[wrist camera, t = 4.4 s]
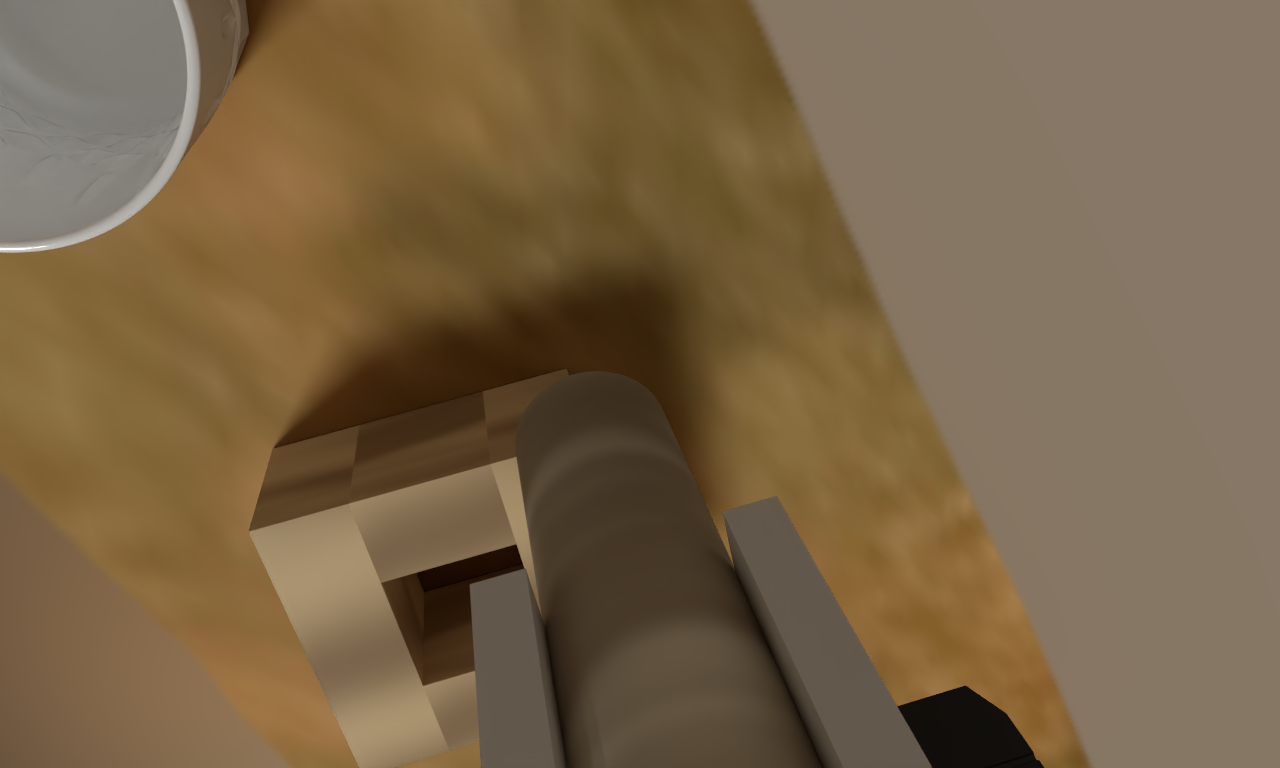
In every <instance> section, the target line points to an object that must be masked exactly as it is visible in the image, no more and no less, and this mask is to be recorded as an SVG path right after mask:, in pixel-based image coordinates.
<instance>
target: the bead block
mask: <svg viewBox="0 0 1280 768" xmlns="http://www.w3.org/2000/svg"><path fill="white" fill-rule="evenodd" d="M567 376H569V374H568V371H567V368H566V369H562V370H559V371H555V372H551V373H548V374H544V375H540V376H537V377H533V378H530V379H526V380H522V381H519V382H515V383H511V384H508V385H504V386H500V387H497V388H493V389H489V390H486V391H482V392H478V393H475V394H471V395H467V396H464V397H460V398H457V399H453V400H449V401H446V402H442V403H438V404H435V405H431V406H427V407H424V408H420V409H416V410H413V411H409V412H405V413H402V414H398V415H395V416H391V417H387V418H384V419H380V420H376V421H373V422H369V423H365V424H362V425H358V426H354V427H351V428H347V429H343V430H340V431H336V432H332V433H329V434H325V435H322V436H318V437H314V438H311V439H307V440H303V441H300V442H296V443H292V444H289V445H285V446H281V447H278V448H274V449H273V450H272V453H271V457H270V460H269V463H268V467H267V470H266V474H265V477H264V481H263V484H262V487H261V491H260V494H259V498H258V501H257V505H256V508H255V511H254V515H253V518H252V522H251V525H250V529H249V534H250V536H251V538H252V540H253V542H254V544H255V546H256V549H257V551H258V553H259V555H260V557H261V559H262V561H263V563H264V566H265V568H266V570H267V572H268V574H269V576H270V578H271V580H272V583H273V585H274V587H275V589H276V591H277V593H278V595H279V597H280V600H281V602H282V604H283V606H284V608H285V610H286V612H287V614H288V617H289V619H290V621H291V623H292V625H293V627H294V629H295V631H296V634H297V636H298V638H299V640H300V642H301V644H302V646H303V649H304V651H305V653H306V655H307V657H308V659H309V661H310V663H311V666H312V668H313V670H314V672H315V674H316V676H317V678H318V680H319V683H320V685H321V687H322V689H323V691H324V693H325V695H326V697H327V700H328V702H329V704H330V706H331V708H332V710H333V712H334V714H335V717H336V719H337V721H338V723H339V725H340V727H341V729H342V731H343V734H344V736H345V738H346V740H347V742H348V744H349V746H350V749H351V751H352V753H353V755H354V757H355V759H356V761H357V763H358V766H359V768H393V767H397V766H400V765H403V764H407V763H410V762H413V761H417V760H420V759H423V758H427V757H430V756H434V755H437V754H440V753H444V752H447V751H450V750H454V749H457V748H460V747H464V746H467V745H470V744H474V743H477V742H479V726H478V710H477V694H476V678H475V662H474V646H473V630H472V615H471V599H470V584H473V583H476V582H480V581H483V580H487V579H490V578H494V577H497V576H501V575H504V574H508V573H511V572H514V571H518V570H521V569H525V568H526V571H527V574H528V577H529V580H530V583H531V586H532V589H533V592H534V595H535V598H536V601H537V604H538V607H539V610H540V604H539V597H538V591H537V585H536V578H535V572H534V566H533V559H532V553H531V547H530V540H529V534H528V528H527V521H526V515H525V509H524V502H523V496H522V490H521V483H520V477H519V471H518V464H517V458H516V450H515V438H516V432H517V427H518V424H519V422H520V419H521V417H522V415H523V413H524V411H525V409H526V408H527V407H528V405H529V404H530V402H531V401H532V400H533V399H534V398H535V397H536V396H537V395H538V394H539V393H540V392H541V391H543V390H544V389H545V388H546V387H548V386H549V385H551V384H552V383H554V382H556V381H558V380H560V379H562V378H564V377H567ZM515 544H517V547H518V550H519V553H520V556H521V559H522V562H523V564H521V565H517V566H514V567H510V568H507V569H503V570H500V571H496V572H493V573H490V574H486V575H483V576H479V577H476V578H472V579H469V580H465V581H462V582H458V583H455V584H451V585H448V586H444V587H441V588H437V589H434V590H430V591H427V592H424V591H423V588H422V586H421V583H420V581H419V578H418V575H417V572H420V571H424V570H427V569H431V568H434V567H438V566H441V565H445V564H448V563H452V562H455V561H459V560H462V559H466V558H469V557H473V556H476V555H480V554H483V553H487V552H490V551H494V550H497V549H501V548H504V547H508V546H511V545H515ZM540 613H541V610H540Z"/></svg>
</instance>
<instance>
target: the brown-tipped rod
mask: <svg viewBox="0 0 1280 768" xmlns="http://www.w3.org/2000/svg"><path fill="white" fill-rule="evenodd" d="M515 450H516V458H517V464H518V471H519V477H520V483H521V490H522V496H523V502H524V509H525V515H526V521H527V528H528V534H529V540H530V547H531V553H532V559H533V566H534V572H535V578H536V585H537V591H538V597H539V604H540V610H541V616H542V619H543V622H544V625H545V631H546V638H547V644H548V650H549V656H550V662H551V669H552V675H553V681H554V687H555V694H556V700H557V706H558V712H559V719H560V725H561V731H562V737H563V743H564V750H565V756H566V762H567V768H823V765H822V763H821V761H820V759H819V757H818V754H817V752H816V750H815V748H814V745H813V743H812V741H811V739H810V737H809V734H808V732H807V730H806V728H805V725H804V723H803V721H802V719H801V717H800V714H799V712H798V710H797V708H796V705H795V703H794V701H793V699H792V697H791V694H790V692H789V690H788V688H787V685H786V683H785V681H784V679H783V676H782V674H781V672H780V670H779V668H778V665H777V663H776V661H775V659H774V656H773V654H772V652H771V650H770V648H769V645H768V643H767V641H766V639H765V636H764V634H763V632H762V630H761V628H760V625H759V623H758V621H757V619H756V616H755V614H754V612H753V610H752V608H751V605H750V603H749V601H748V599H747V596H746V594H745V592H744V590H743V588H742V585H741V583H740V581H739V579H738V576H737V574H736V572H735V569H734V566H733V564H732V561H731V559H730V557H729V555H728V553H727V550H726V548H725V546H724V544H723V541H722V539H721V537H720V535H719V533H718V530H717V528H716V526H715V524H714V522H713V519H712V517H711V515H710V513H709V510H708V508H707V506H706V504H705V502H704V499H703V497H702V495H701V493H700V491H699V488H698V486H697V484H696V482H695V479H694V477H693V475H692V473H691V471H690V468H689V466H688V464H687V462H686V459H685V457H684V455H683V453H682V451H681V448H680V446H679V444H678V442H677V440H676V437H675V435H674V433H673V431H672V428H671V426H670V424H669V422H668V420H667V417H666V415H665V413H664V411H663V409H662V407H661V405H660V403H659V401H658V400H657V399H656V397H655V396H654V395H653V394H652V393H651V392H650V390H648V389H647V388H646V387H645V386H644V385H642V384H641V383H639V382H637V381H636V380H634V379H632V378H630V377H627V376H625V375H622V374H618V373H614V372H608V371H588V372H581V373H577V374H573V375H570V376H567V377H564V378H562V379H560V380H558V381H556V382H554V383H552V384H551V385H549V386H548V387H546V388H545V389H544V390H543V391H541V392H540V393H539V394H538V395H537V396H536V397H535V398H534V399H533V400H532V401H531V402H530V404H529V405H528V407H527V408H526V409H525V411H524V413H523V415H522V417H521V419H520V422H519V424H518V427H517V432H516V438H515Z"/></svg>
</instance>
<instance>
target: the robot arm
mask: <svg viewBox="0 0 1280 768" xmlns="http://www.w3.org/2000/svg"><path fill="white" fill-rule="evenodd" d="M723 516H724V521H725V526H726V531H727V535H728V540H729V545H730V550H731V555H732V559H733V564H734V569H735V572H736V574H737V576H738V579H739V581H740V583H741V585H742V588H743V590H744V592H745V594H746V596H747V599H748V601H749V603H750V605H751V608H752V610H753V612H754V614H755V616H756V619H757V621H758V623H759V625H760V628H761V630H762V632H763V634H764V636H765V639H766V641H767V643H768V645H769V648H770V650H771V652H772V654H773V656H774V659H775V661H776V663H777V665H778V668H779V670H780V672H781V674H782V676H783V679H784V681H785V683H786V685H787V688H788V690H789V692H790V694H791V697H792V699H793V701H794V703H795V705H796V708H797V710H798V712H799V714H800V717H801V719H802V721H803V723H804V725H805V728H806V730H807V732H808V734H809V737H810V739H811V741H812V743H813V745H814V748H815V750H816V752H817V754H818V757H819V759H820V761H821V763H822V765H823V768H1044V767H1043V765H1042V764H1041V762H1040V761H1039V760H1036V758H1035V756H1034V753H1033V751H1032V749H1031V748H1030V747H1029V745H1028V744H1027V742H1026V741H1025V739H1024V738H1023V737H1022V735H1021V734H1020V732H1019V731H1018V729H1017V728H1016V727H1015V725H1014V724H1013V722H1012V721H1011V719H1010V718H1009V717H1008V715H1007V714H1006V713H1005V712H1003V711H1002V710H1000V709H999V708H998V707H996V706H995V705H993V704H992V703H990V702H989V701H987V700H986V699H984V698H983V697H981V696H980V695H979V694H977V693H976V692H974V691H973V690H971V689H970V688H968V687H967V686H963V687H959V688H956V689H953V690H949V691H946V692H943V693H940V694H936V695H933V696H930V697H926V698H923V699H920V700H917V701H913V702H910V703H907V704H904V705H900V706H897V705H896V703H895V702H894V700H893V698H892V696H891V695H890V693H889V691H888V690H887V688H886V686H885V684H884V683H883V681H882V679H881V677H880V676H879V674H878V672H877V670H876V669H875V667H874V665H873V663H872V662H871V660H870V658H869V656H868V655H867V653H866V651H865V649H864V648H863V646H862V644H861V642H860V641H859V639H858V637H857V635H856V634H855V632H854V630H853V628H852V627H851V625H850V623H849V621H848V620H847V618H846V616H845V614H844V613H843V611H842V609H841V607H840V606H839V604H838V602H837V600H836V599H835V597H834V595H833V593H832V592H831V590H830V588H829V587H828V585H827V583H826V581H825V580H824V578H823V576H822V574H821V573H820V571H819V569H818V567H817V566H816V564H815V562H814V560H813V559H812V557H811V555H810V553H809V552H808V550H807V548H806V546H805V545H804V543H803V541H802V539H801V538H800V536H799V534H798V532H797V531H796V529H795V527H794V525H793V524H792V522H791V520H790V518H789V517H788V515H787V513H786V511H785V510H784V508H783V506H782V504H781V503H780V501H779V499H778V497H777V496H775V497H772V498H768V499H765V500H761V501H758V502H754V503H751V504H747V505H744V506H740V507H737V508H733V509H730V510H726V511H723ZM470 599H471V615H472V630H473V646H474V662H475V678H476V694H477V710H478V726H479V742H480V758H481V768H567V762H566V756H565V750H564V743H563V737H562V731H561V725H560V719H559V712H558V706H557V700H556V694H555V687H554V681H553V675H552V669H551V662H550V656H549V650H548V644H547V638H546V631H545V625H544V622H543V619H542V616H541V613H540V610H539V607H538V604H537V601H536V598H535V595H534V592H533V589H532V586H531V583H530V580H529V577H528V574H527V571H526V568H525V569H521V570H518V571H514V572H511V573H508V574H504V575H501V576H497V577H494V578H490V579H487V580H483V581H480V582H476V583H473V584H470Z"/></svg>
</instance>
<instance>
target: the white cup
mask: <svg viewBox="0 0 1280 768" xmlns="http://www.w3.org/2000/svg"><path fill="white" fill-rule="evenodd" d="M248 36H249V25H248V16H247V7H246V0H0V252H33V251H42V250H49V249H55V248H60V247H65V246H69V245H72V244H76V243H79V242H82V241H85V240H88V239H91V238H93V237H96V236H98V235H100V234H103V233H105V232H107V231H109V230H111V229H113V228H114V227H116V226H118V225H120V224H121V223H123V222H124V221H126V220H127V219H129V218H130V217H132V216H133V215H134V214H136V213H137V212H138V211H140V210H141V209H142V208H143V207H144V206H145V205H147V204H148V203H149V202H150V201H151V200H152V199H153V198H154V197H155V196H156V195H157V194H158V193H159V191H160V190H161V189H162V188H163V187H164V185H165V184H166V183H167V182H168V180H169V179H170V178H171V176H172V175H173V173H174V172H175V170H176V169H177V167H178V166H179V164H180V163H181V161H182V160H183V159H184V157H185V156H186V154H187V153H188V152H189V150H190V149H191V147H192V146H193V145H194V143H195V142H196V141H197V139H198V138H199V136H200V135H201V134H202V132H203V131H204V129H205V128H206V127H207V125H208V124H209V122H210V120H211V119H212V117H213V115H214V113H215V111H216V110H217V108H218V106H219V105H220V103H221V101H222V99H223V98H224V96H225V94H226V92H227V90H228V88H229V86H230V84H231V82H232V80H233V77H234V74H235V70H236V67H237V65H238V62H239V59H240V57H241V54H242V51H243V49H244V46H245V43H246V41H247V38H248Z"/></svg>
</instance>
